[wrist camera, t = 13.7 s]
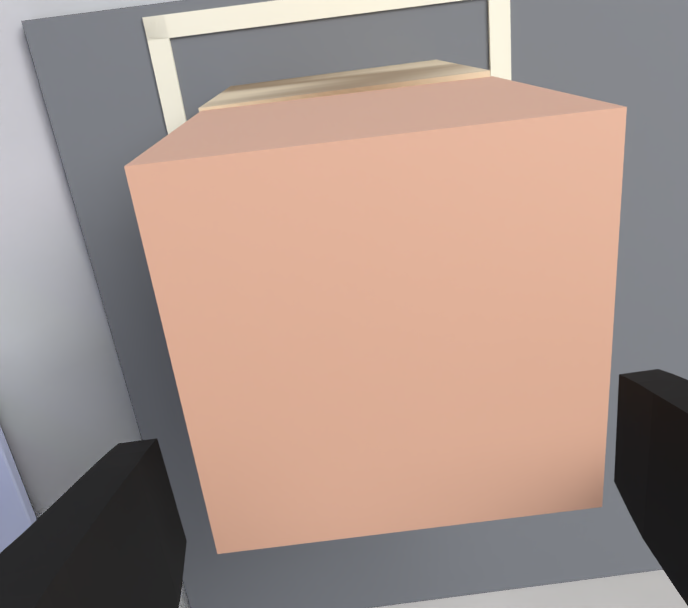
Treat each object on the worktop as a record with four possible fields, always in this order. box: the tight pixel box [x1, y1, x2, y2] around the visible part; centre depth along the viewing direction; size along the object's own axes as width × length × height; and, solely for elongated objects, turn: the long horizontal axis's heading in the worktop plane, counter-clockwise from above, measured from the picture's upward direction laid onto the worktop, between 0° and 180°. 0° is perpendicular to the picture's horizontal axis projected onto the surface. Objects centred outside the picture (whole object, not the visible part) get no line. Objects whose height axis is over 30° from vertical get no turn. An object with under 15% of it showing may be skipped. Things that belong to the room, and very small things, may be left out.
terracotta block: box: [124, 76, 627, 554], centre depth 10 cm, size 5×5×5 cm
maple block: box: [198, 60, 490, 112], centre depth 14 cm, size 5×5×5 cm
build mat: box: [22, 0, 688, 608], centre depth 19 cm, size 19×20×1 cm
